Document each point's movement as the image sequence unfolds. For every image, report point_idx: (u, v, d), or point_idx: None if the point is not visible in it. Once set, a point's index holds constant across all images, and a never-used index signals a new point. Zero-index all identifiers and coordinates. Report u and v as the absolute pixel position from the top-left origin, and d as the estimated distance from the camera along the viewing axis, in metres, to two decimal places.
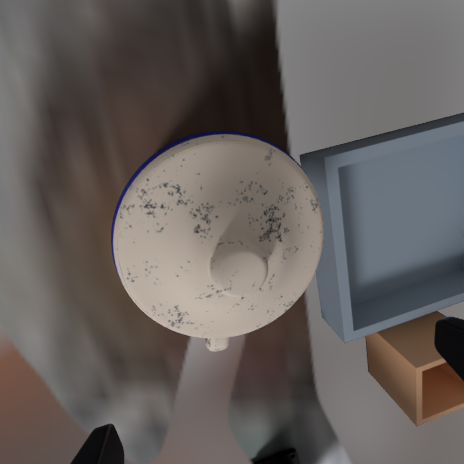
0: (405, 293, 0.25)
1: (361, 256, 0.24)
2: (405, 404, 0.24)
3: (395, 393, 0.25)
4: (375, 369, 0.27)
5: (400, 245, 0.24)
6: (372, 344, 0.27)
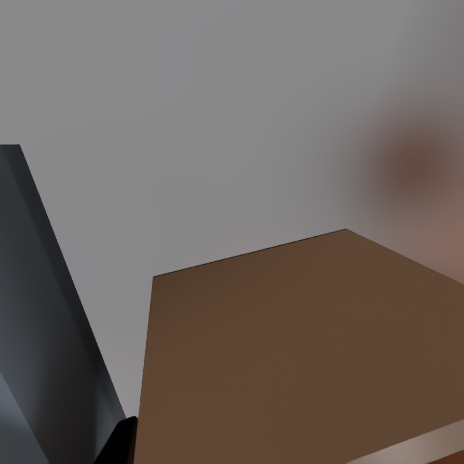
0: None
1: None
2: None
3: None
4: None
5: None
6: None
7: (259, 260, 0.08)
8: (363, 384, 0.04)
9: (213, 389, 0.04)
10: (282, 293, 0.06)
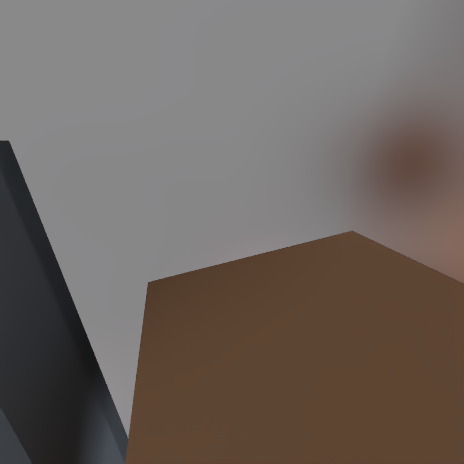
0: None
1: None
2: None
3: None
4: None
5: None
6: None
7: (261, 265, 0.08)
8: (385, 415, 0.03)
9: (212, 417, 0.04)
10: (288, 303, 0.06)
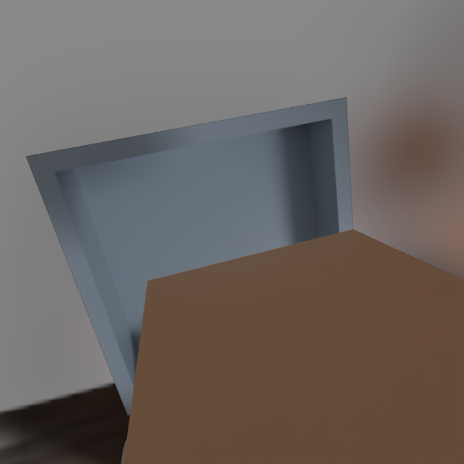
0: (321, 230, 0.18)
1: None
2: None
3: None
4: None
5: (251, 240, 0.18)
6: None
7: (261, 263, 0.08)
8: (387, 413, 0.03)
9: (212, 416, 0.04)
10: (288, 301, 0.06)
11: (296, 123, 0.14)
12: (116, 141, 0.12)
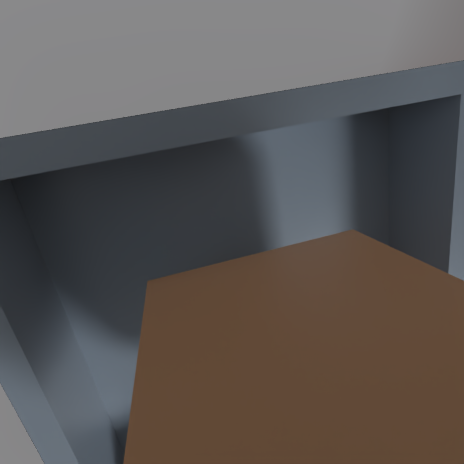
0: None
1: None
2: None
3: None
4: None
5: None
6: None
7: (261, 263, 0.08)
8: (386, 414, 0.03)
9: (211, 416, 0.04)
10: (288, 302, 0.06)
11: (403, 101, 0.08)
12: (70, 130, 0.06)
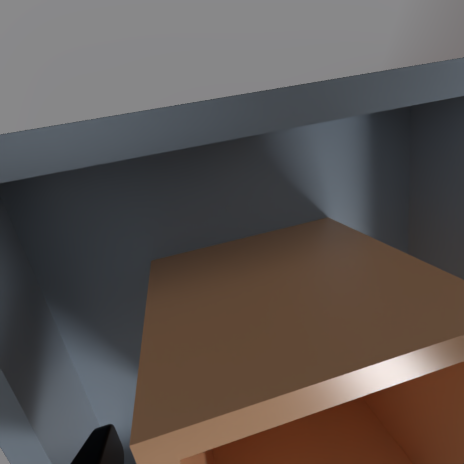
0: None
1: None
2: None
3: None
4: None
5: None
6: None
7: (247, 245, 0.09)
8: (325, 335, 0.05)
9: (201, 343, 0.05)
10: (266, 271, 0.07)
11: (435, 97, 0.07)
12: (58, 129, 0.05)
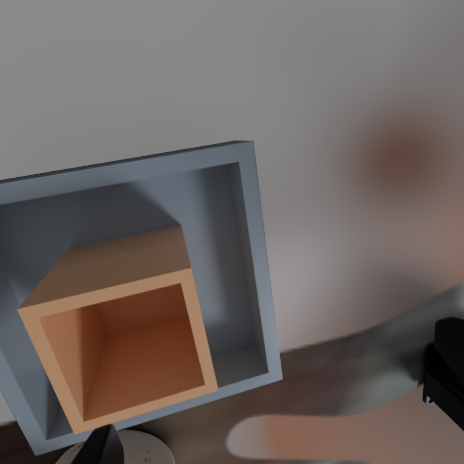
0: (245, 265, 0.18)
1: None
2: None
3: None
4: None
5: None
6: None
7: (124, 240, 0.15)
8: (112, 277, 0.11)
9: (63, 282, 0.12)
10: (118, 254, 0.14)
11: (200, 166, 0.13)
12: (2, 185, 0.12)
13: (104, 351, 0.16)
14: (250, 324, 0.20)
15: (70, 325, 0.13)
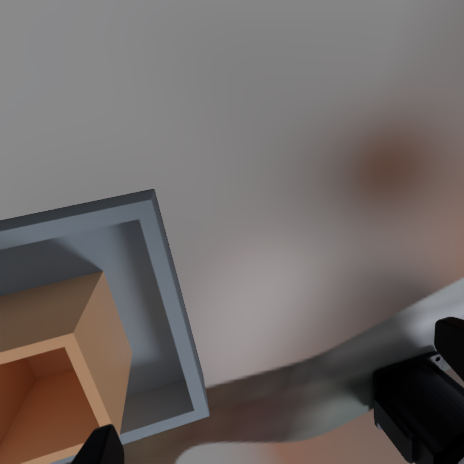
0: None
1: None
2: None
3: None
4: None
5: None
6: None
7: (43, 290, 0.16)
8: (2, 341, 0.12)
9: None
10: (26, 308, 0.14)
11: (100, 226, 0.14)
12: None
13: (28, 395, 0.17)
14: None
15: None
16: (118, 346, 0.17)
